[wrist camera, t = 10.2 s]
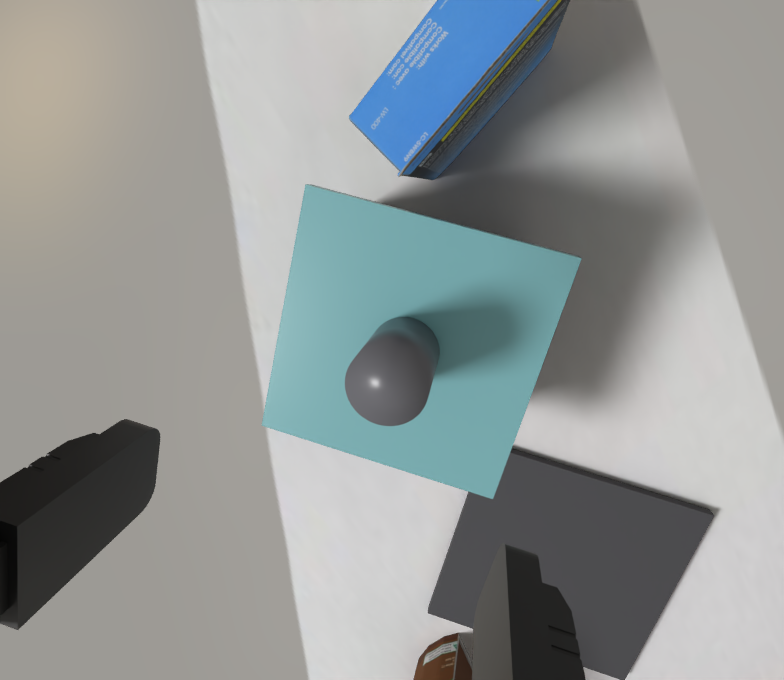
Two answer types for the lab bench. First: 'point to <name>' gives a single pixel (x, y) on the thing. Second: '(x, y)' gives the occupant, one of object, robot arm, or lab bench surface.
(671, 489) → the lab bench surface
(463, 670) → the food container
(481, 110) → the label tape cartridge
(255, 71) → the lab bench surface
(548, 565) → the mat
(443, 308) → the lid
